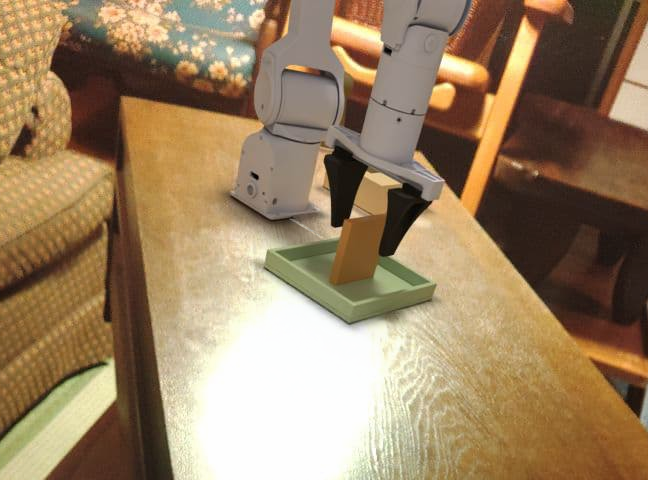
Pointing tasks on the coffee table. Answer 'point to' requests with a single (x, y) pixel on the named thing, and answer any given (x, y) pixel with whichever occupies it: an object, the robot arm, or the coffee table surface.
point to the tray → (355, 297)
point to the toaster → (372, 191)
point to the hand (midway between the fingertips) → (361, 240)
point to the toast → (358, 249)
